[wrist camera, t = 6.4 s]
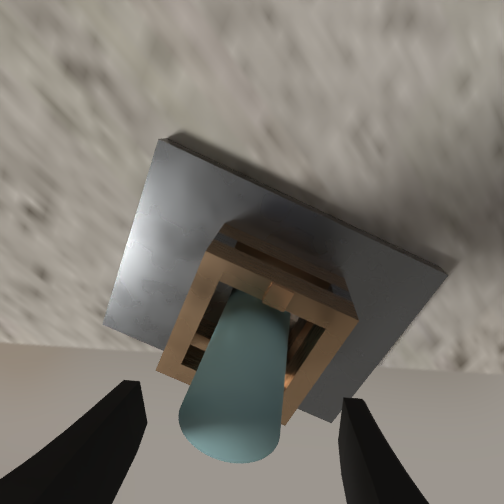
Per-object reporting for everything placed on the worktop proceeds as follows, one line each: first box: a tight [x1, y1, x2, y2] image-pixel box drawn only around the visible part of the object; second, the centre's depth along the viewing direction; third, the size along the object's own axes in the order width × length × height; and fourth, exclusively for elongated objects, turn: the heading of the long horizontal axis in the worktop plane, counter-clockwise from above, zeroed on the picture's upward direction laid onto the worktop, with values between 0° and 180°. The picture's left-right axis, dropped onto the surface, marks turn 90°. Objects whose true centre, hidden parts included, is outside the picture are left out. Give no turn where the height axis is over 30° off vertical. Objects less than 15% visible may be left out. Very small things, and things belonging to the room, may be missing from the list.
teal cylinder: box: [179, 288, 291, 463], centre depth 15 cm, size 4×4×8 cm
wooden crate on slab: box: [103, 138, 448, 425], centre depth 17 cm, size 16×12×5 cm
